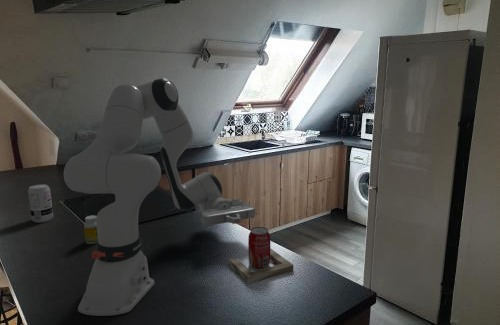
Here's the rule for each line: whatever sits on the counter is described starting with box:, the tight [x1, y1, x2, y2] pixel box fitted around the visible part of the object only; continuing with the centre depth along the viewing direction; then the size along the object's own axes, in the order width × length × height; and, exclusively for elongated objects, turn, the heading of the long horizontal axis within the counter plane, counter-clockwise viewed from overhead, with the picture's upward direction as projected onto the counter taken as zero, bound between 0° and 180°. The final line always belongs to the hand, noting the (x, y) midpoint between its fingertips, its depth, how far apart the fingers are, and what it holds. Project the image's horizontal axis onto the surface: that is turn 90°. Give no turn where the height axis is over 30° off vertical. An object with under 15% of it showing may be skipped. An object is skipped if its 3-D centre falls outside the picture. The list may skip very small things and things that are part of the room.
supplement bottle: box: [83, 215, 98, 245], centre depth 138 cm, size 5×5×10 cm
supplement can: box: [27, 183, 54, 224], centre depth 160 cm, size 8×8×15 cm
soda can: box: [247, 226, 271, 270], centre depth 120 cm, size 7×7×12 cm
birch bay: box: [228, 248, 294, 285], centre depth 119 cm, size 14×16×2 cm
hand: (237, 221), depth 128 cm, fingers closed
